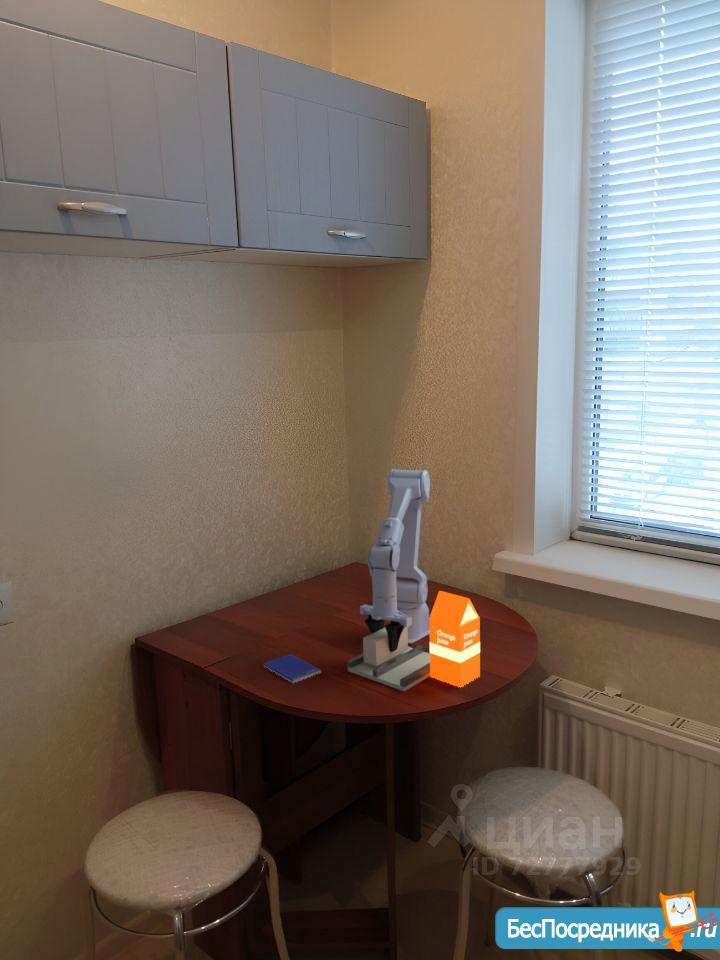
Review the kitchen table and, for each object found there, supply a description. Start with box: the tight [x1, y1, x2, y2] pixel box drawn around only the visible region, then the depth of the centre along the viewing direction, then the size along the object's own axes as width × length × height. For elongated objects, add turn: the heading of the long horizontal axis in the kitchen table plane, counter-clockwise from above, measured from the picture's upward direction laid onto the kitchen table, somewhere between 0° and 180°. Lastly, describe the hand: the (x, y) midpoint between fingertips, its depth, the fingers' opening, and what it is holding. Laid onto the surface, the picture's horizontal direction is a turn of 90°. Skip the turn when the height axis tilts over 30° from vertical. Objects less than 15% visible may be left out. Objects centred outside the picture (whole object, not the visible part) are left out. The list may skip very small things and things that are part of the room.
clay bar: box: [362, 627, 409, 666], centre depth 182 cm, size 12×4×6 cm, turn 138°
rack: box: [346, 644, 430, 692], centre depth 181 cm, size 18×17×2 cm
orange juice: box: [429, 590, 481, 689], centre depth 173 cm, size 8×9×20 cm
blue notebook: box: [263, 653, 322, 684], centre depth 181 cm, size 2×8×12 cm
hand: (386, 647), depth 183 cm, fingers closed on clay bar, 4 cm apart
